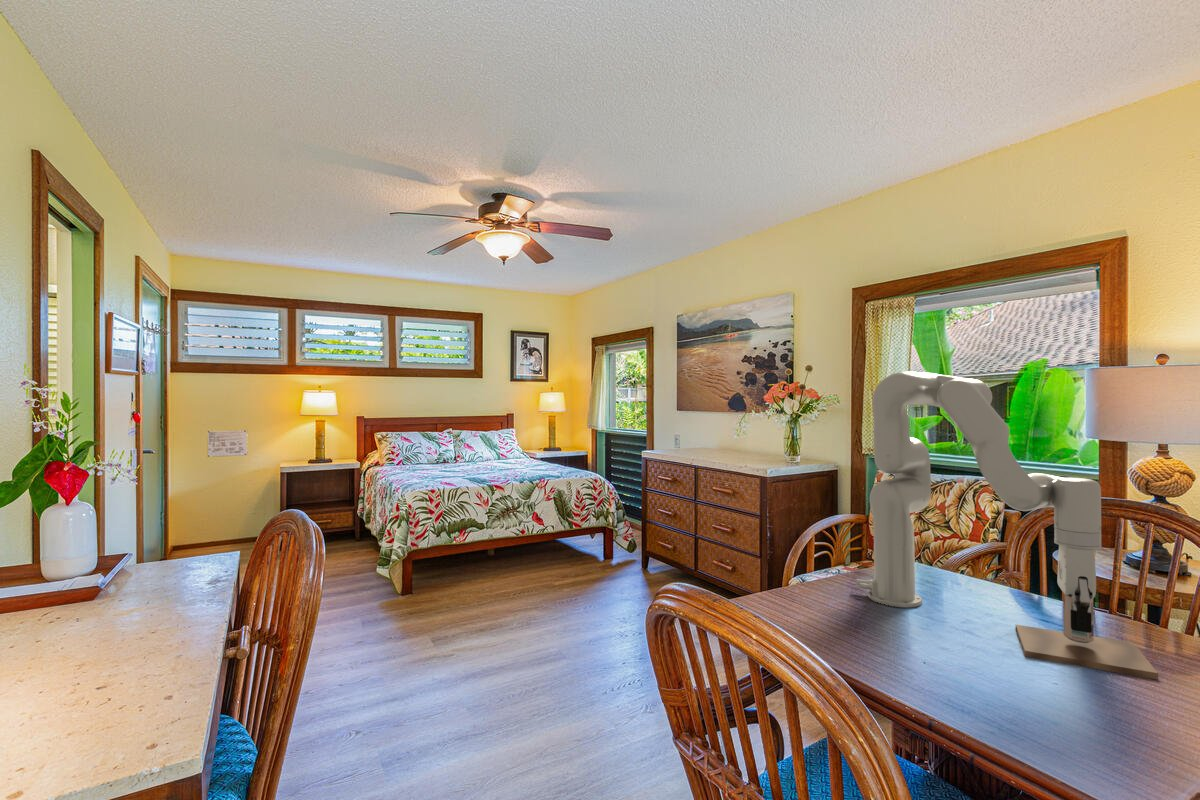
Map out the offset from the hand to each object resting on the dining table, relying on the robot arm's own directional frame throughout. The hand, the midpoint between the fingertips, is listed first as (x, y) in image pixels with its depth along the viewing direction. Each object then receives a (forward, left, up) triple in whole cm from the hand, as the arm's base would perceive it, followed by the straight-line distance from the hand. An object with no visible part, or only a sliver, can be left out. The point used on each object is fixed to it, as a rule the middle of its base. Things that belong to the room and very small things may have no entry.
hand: (1078, 625), depth 119 cm
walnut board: (0, 0, -5) cm, 5 cm away
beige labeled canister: (0, 0, -3) cm, 3 cm away
